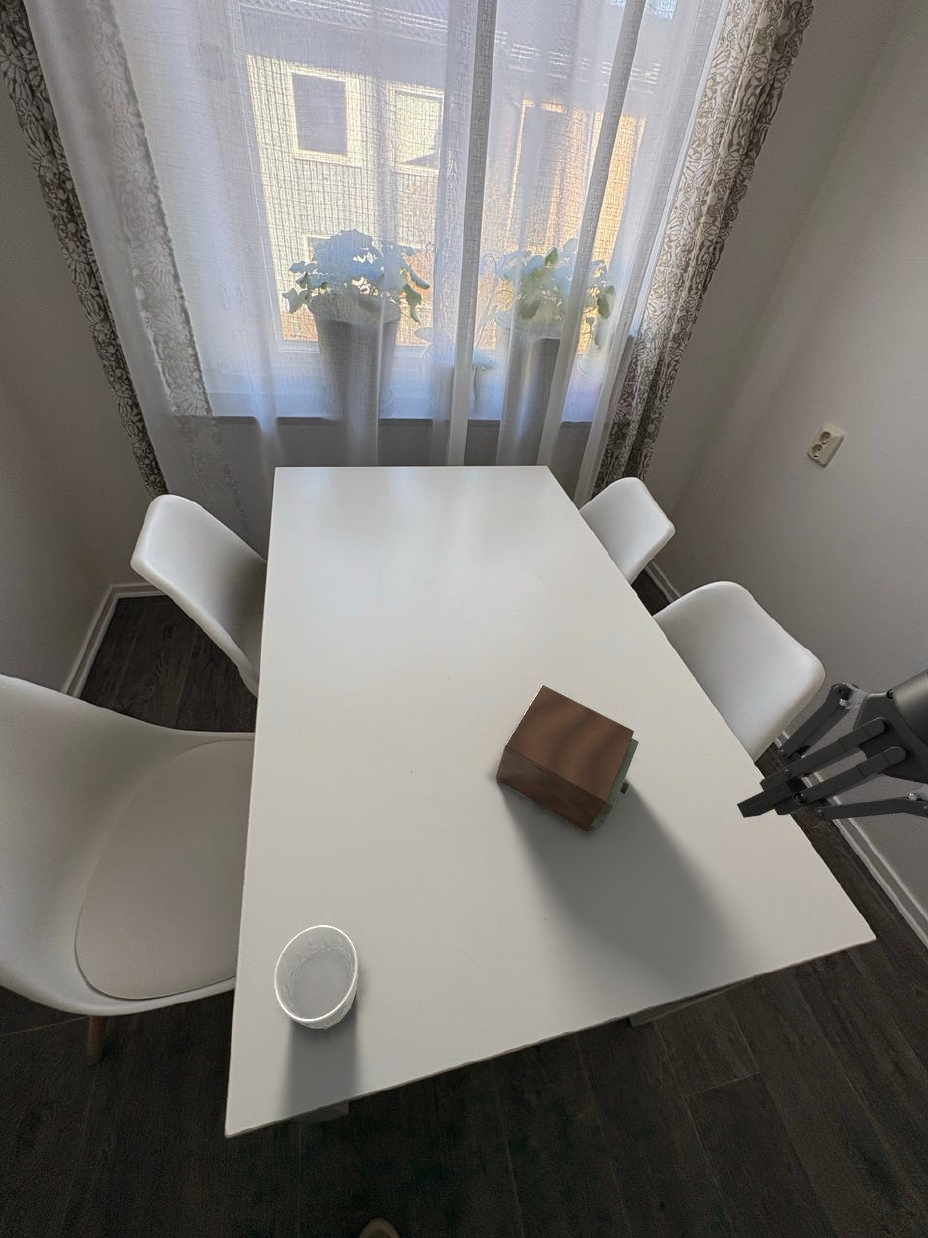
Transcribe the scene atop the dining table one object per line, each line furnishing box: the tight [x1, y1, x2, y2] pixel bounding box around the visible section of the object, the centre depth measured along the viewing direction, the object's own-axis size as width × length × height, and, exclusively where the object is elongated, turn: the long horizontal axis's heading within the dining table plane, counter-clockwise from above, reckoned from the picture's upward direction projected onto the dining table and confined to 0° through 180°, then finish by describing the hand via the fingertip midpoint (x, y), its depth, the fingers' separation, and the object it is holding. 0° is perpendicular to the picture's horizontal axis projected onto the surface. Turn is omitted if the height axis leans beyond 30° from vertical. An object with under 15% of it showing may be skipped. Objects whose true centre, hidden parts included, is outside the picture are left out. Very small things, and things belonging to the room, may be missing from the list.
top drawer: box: [590, 737, 640, 830], centre depth 75 cm, size 15×12×7 cm
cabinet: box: [495, 684, 635, 832], centre depth 75 cm, size 15×13×9 cm
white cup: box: [273, 925, 359, 1030], centre depth 53 cm, size 8×8×10 cm
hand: (748, 809), depth 56 cm, fingers closed
